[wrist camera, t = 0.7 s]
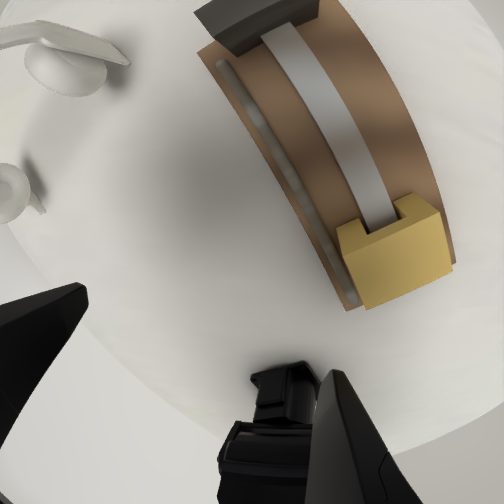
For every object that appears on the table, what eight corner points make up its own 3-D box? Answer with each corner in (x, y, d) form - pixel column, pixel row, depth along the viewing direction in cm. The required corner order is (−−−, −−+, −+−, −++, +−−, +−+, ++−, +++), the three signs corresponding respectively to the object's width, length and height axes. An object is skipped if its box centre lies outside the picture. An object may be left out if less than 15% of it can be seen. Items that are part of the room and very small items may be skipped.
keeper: (429, 242, 17) (452, 271, 13) (357, 274, 19) (365, 310, 16) (413, 192, 16) (439, 211, 12) (335, 228, 18) (342, 256, 14)
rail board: (451, 256, 18) (484, 298, 13) (344, 304, 22) (351, 356, 17) (325, -8, 12) (330, -50, 7) (201, 55, 16) (161, 35, 10)
